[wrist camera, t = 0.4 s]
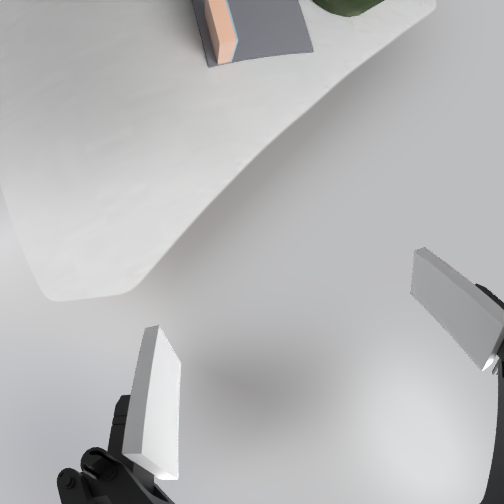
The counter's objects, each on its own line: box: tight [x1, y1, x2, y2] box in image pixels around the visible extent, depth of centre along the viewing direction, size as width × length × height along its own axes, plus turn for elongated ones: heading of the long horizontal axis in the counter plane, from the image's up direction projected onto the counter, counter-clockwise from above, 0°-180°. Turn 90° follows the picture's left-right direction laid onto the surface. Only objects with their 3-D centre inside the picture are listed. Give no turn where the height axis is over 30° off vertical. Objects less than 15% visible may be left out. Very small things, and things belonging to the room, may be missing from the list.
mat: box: [192, 0, 314, 67], centre depth 26 cm, size 14×14×1 cm
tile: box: [204, 0, 238, 64], centre depth 23 cm, size 8×2×9 cm, turn 13°
